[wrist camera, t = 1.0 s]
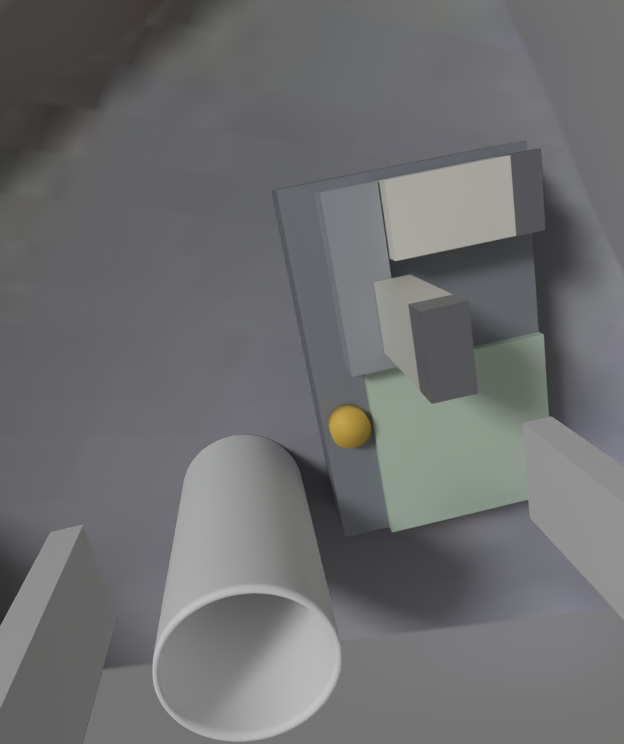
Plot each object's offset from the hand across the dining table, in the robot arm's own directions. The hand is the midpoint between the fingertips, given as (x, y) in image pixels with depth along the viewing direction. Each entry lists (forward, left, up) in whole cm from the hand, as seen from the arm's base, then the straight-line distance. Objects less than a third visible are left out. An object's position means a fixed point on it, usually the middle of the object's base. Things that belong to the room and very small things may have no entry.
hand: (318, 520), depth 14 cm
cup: (-4, -11, -24) cm, 27 cm away
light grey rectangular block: (+7, 0, -18) cm, 19 cm away
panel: (+9, -3, -24) cm, 26 cm away
